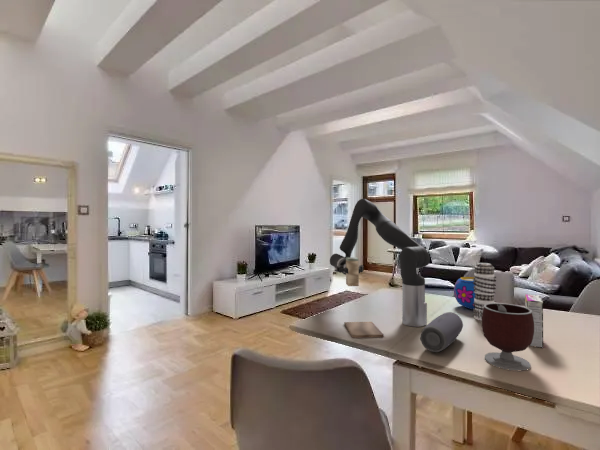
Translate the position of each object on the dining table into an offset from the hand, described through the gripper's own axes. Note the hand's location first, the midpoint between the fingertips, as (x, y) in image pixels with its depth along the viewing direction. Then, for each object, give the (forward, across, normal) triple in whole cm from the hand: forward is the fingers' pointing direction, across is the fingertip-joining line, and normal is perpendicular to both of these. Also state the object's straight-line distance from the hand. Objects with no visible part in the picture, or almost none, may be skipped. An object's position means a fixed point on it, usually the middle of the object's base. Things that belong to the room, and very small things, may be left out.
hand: (353, 271), depth 143 cm
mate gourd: (+43, +38, +23) cm, 62 cm away
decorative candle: (-2, +60, +23) cm, 65 cm away
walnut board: (+10, +2, +23) cm, 25 cm away
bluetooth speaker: (+28, +26, +23) cm, 44 cm away
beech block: (-2, 0, +6) cm, 7 cm away
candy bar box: (+27, +60, +23) cm, 70 cm away
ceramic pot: (-19, +65, +23) cm, 72 cm away
